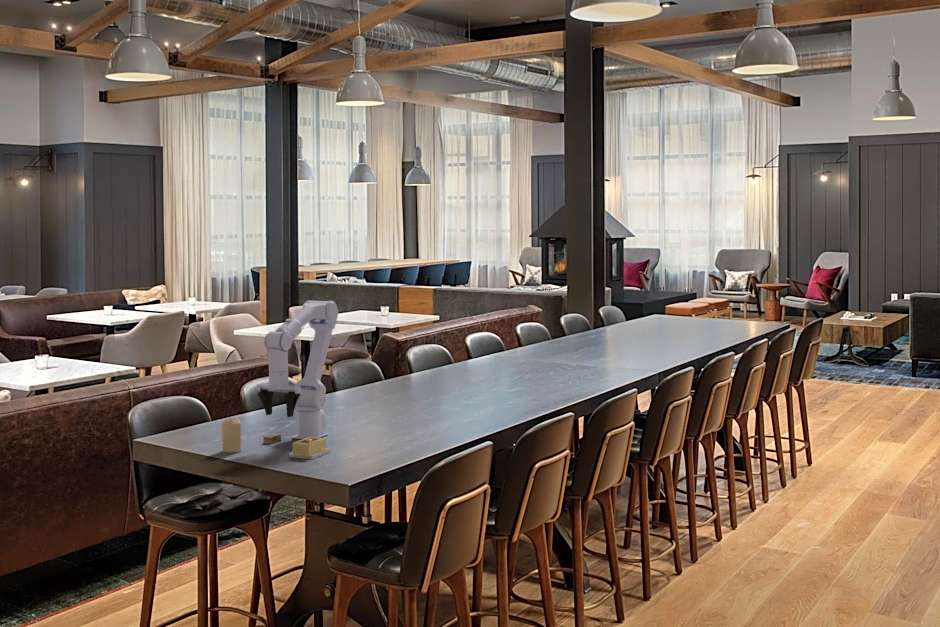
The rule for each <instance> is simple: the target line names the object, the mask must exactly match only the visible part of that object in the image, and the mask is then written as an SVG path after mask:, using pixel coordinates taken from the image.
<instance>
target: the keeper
mask: <svg viewBox="0 0 940 627" xmlns="http://www.w3.org/2000/svg"><path fill="white" fill-rule="evenodd" d="M310 442H313V439H306V443H310ZM329 453H331V448H327V447H326V449H324V450H322V451H319V452H317V453H314V454H311V455H300V454H293V451H292V452H289V453H288V458H296V459H306V460H314V459H317V458H318V457H319V458H320V457H322V456H324V455H327V454H329Z"/></svg>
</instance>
